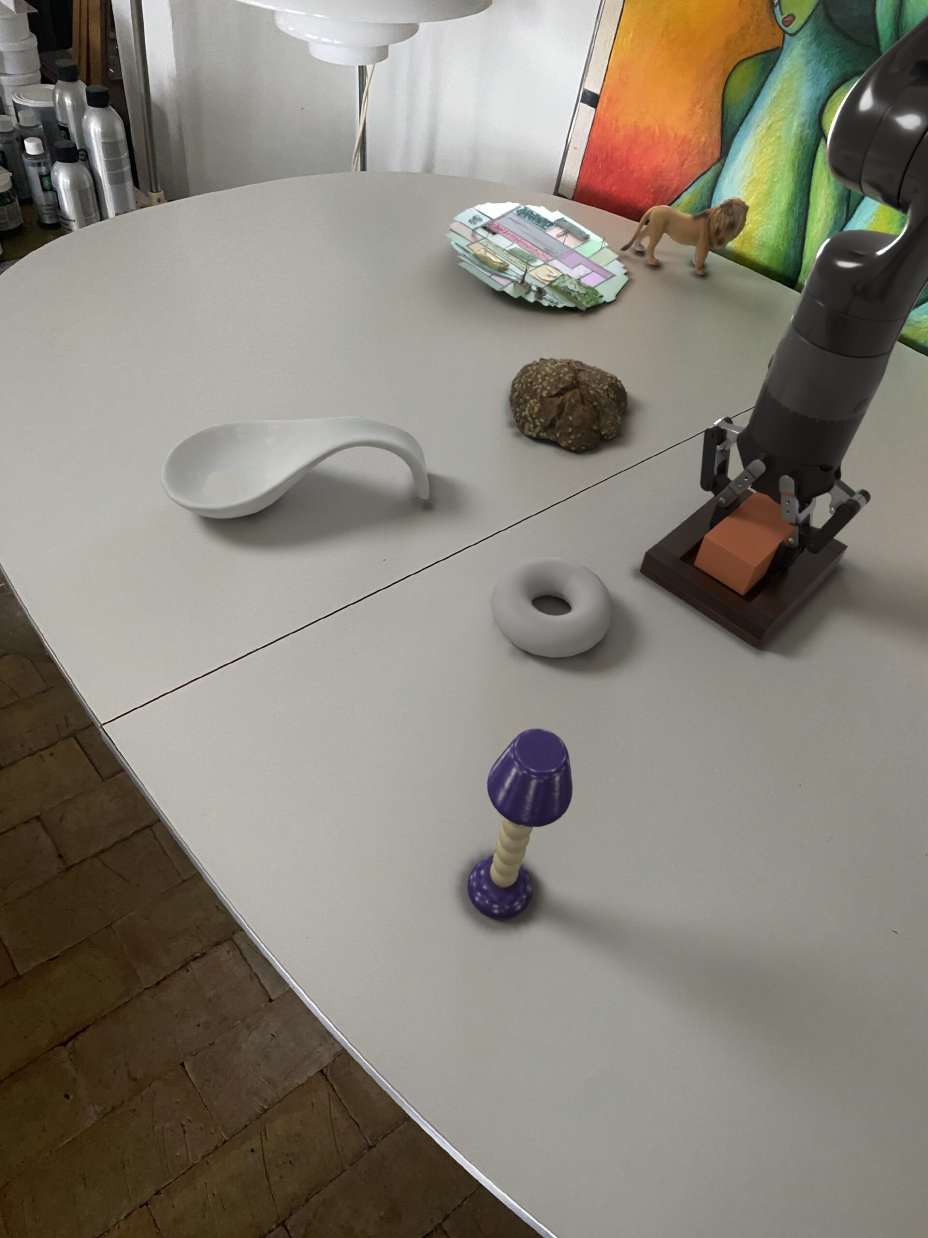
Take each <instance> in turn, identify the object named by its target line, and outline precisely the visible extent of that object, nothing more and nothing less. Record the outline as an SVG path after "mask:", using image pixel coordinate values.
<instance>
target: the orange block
mask: <svg viewBox="0 0 928 1238" xmlns="http://www.w3.org/2000/svg"><path fill="white" fill-rule="evenodd" d="M783 539H784V523H783V522H781V505H779V504H778V503H776V502H775V501H773V500H772V499H771V498H770V497H769V496H768V495H765V494H762V493H759V492H757V491H755V492H754V494H753V495H752V496H750V497H749V498H748V499H747V500H746V501H745V502H743V503H742V504H741V505H740V506H739V507H738V508H736V509H735V510H734V511H733V512H732V513H731V514H730V515H728V516H727V517H726V518H725V519H724V520H723V521H721V522H720V523H719V524H718V525H717V526H716V527H714V528H713V529H712V530H711V531H710V532H709V533H707V534H706V535H705V536H704V539H703V542H702V544H701V547H700V550H699V552H698V555H697V558H696V560H695V563H694V565H695V566H696V567H698V568H700V569H701V570H703V571H704V572H706V573H708V574H709V575H711V576H712V577H714V578H716V579H717V580H719V581H720V582H722V583H723V584H725V585H727V586H728V587H730V588H731V589H733V590H735V591H736V592H738V593H739V594H741V595H742V596H744V595H745V594H746V593H747V592H748V591H749V590H750V589H751V588H752V587H753V586H754V585H755V584H756V583H757V582H758V581H759V580H760V579H761V578H762V577H763V576H764V575H765V574H767V573H768V572H767V569H768V567H769V565H770V563H771V561H772V558H773V556H774V554H775V552H776V550H777V548H778V545H779V543H780V542H781V541H782V540H783Z"/></svg>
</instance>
